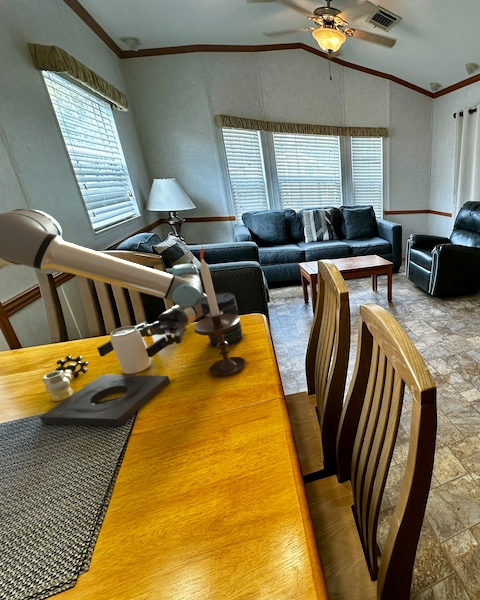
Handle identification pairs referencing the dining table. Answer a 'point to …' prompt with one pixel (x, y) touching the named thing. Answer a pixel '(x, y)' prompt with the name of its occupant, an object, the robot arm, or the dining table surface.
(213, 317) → the candlestick
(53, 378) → the valve
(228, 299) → the storage jar
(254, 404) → the dining table surface
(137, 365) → the can
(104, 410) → the plate
